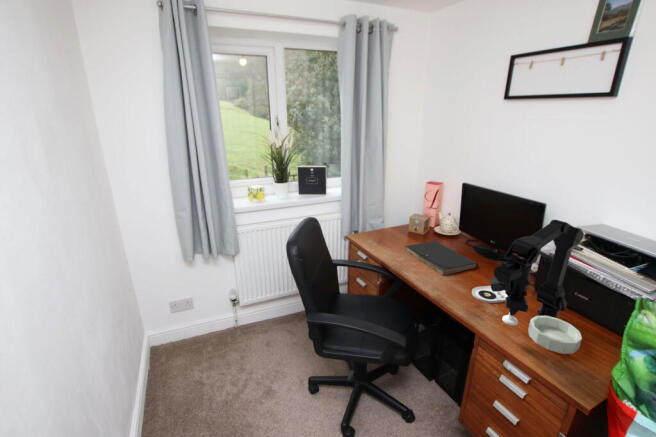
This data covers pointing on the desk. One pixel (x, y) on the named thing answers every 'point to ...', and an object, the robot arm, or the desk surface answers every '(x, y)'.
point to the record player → (488, 294)
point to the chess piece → (510, 319)
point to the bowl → (554, 334)
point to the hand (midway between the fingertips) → (511, 313)
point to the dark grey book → (440, 257)
